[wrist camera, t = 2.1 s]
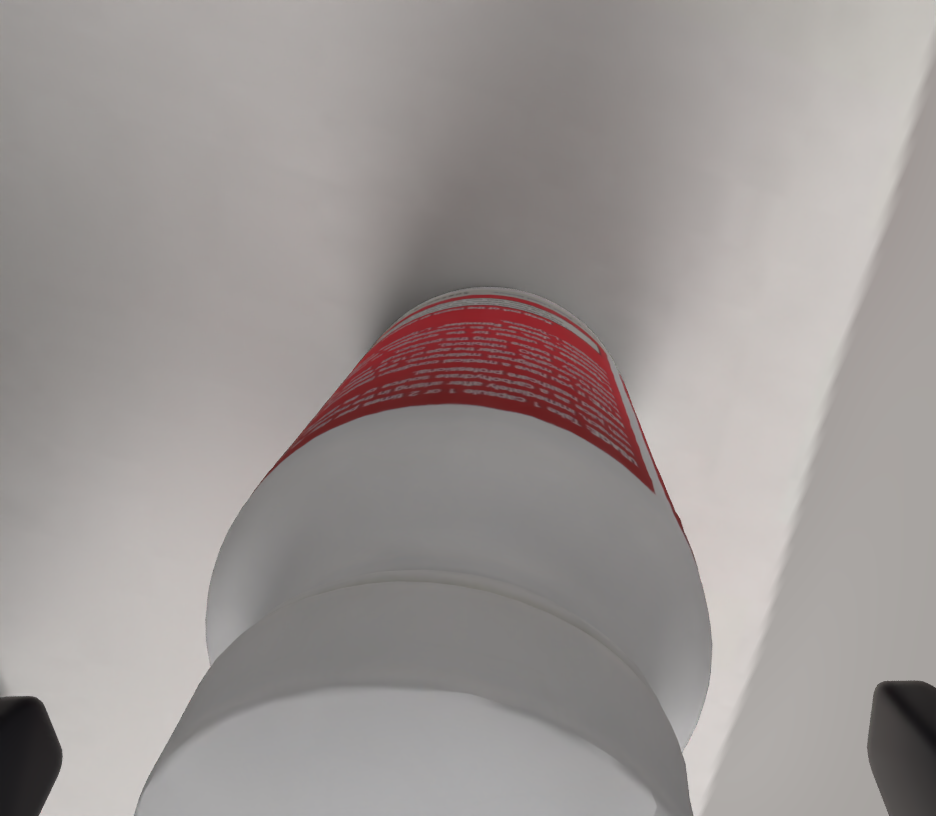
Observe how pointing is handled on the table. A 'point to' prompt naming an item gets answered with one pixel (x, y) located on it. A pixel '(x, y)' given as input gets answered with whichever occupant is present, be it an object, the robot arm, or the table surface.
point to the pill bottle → (453, 594)
